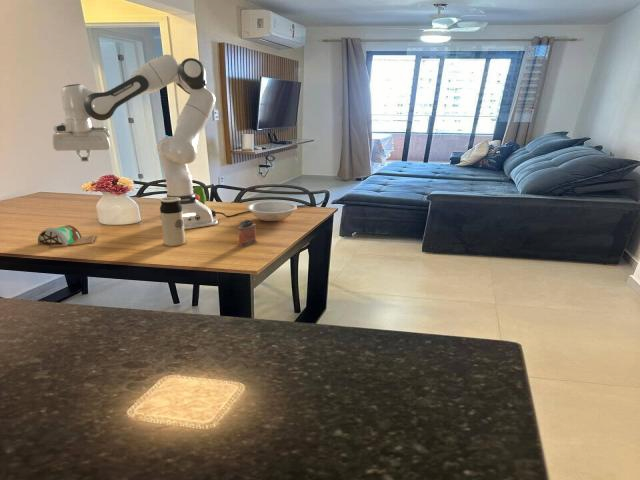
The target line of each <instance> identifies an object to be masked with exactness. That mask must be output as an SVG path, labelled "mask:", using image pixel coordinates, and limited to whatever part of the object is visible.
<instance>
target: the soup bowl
mask: <svg viewBox="0 0 640 480" xmlns="http://www.w3.org/2000/svg"><path fill="white" fill-rule="evenodd" d="M297 206H298V205H296V204H294V203H291V202H288V201H281V200H280V201H279V200H265V201H258V202H253V203H251V204H248V205H247V207H246V209H247V211H251V212H250V213H251V214H252V215H253V216H254V217H255V218H256V219H258V220H261V221H264V222H278V221H283V220H286V219H288V218H289V217H290V216H291V215H292V213H293V212H294V211H295V210H297V208H298V207H297Z"/></svg>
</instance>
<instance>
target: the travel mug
mask: <svg viewBox="0 0 640 480" xmlns="http://www.w3.org/2000/svg"><path fill="white" fill-rule="evenodd" d="M180 200H181V199H180V198H179V197H167V196H166V197H165V196H164V197H162V198H159V202H160V204H161V205H160V207H159V213H160V220H161V228H162V229H161V230H162V239H163V245H166V246H168V247H177V246H181V245H183V244H185V243H186V234H185V229H184V222H183V212H182V206H181V204H180Z"/></svg>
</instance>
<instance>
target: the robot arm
mask: <svg viewBox="0 0 640 480" xmlns="http://www.w3.org/2000/svg"><path fill="white" fill-rule="evenodd" d="M206 72H207V71H206V68H205V67H204V64H203V63H202V62H201V61H200V60H199V59H197V58H193V57H189V58H185V59H184V60H182V61H181V63H180V62H179V61H178V59H176V57H174V56H173V55H171V54H163V55H160V56H157V57H155V58H153V59H150V60H149V61H147V62H145V63H143V64H142V65H141V66H139V67H138V68H136V70H134V72H133V73H132V74H131V75H130V76H129V78H128V79H127V80H125V81H124V82H122V83H120V84H118V85H116V86H115V87H113V88H111V89H108V90H107V91H103V92H102V91H101V92H96V91H94V90H92V89H90V88H88V87H86V86H84V85H83V84H81V83H75V84H67V85H64V86H63V87H62V89H61V91H60V95H61V104H62V108H63V111H64V114H65V115H64V119H65V122H63V123H60V124H58V125H54V126H53V131H54V133H53V134H52V146H53V149H54V150H55V151H57V152H60V151H61V152H62V151H63V152H64V151H66V152H67V151H75V152H76V155H77V156H78V157H79V158H80V162H90V161H91V159H90V156H91V154H92V151H109V150H110V149H111V142H110V138H109V137H110V130H109V129H108V128H106V127H104V126H93V125H92V120H91V118H92V119H94V120H97V121H107V120H109V119H111V117H112V116H113V115H114V114H115V112H116V110H117V109H118V108H119V107H120V106H122V105H123V104H125V103H127V102H129V101H130V100H132V99H134V98H136V97H138V96H141V95H149V94H152V93H155V92H158V91H160V90H162V89H163V88H165V87H167V86H168V85H170V84H173V83H175V84H176V86H178V87H179V88H180V89H181V90H183V91H184V92H185V93H186V94H188V95H189V97H188V99H187V101H186V103H185V104H184V106H183V108H182V109H181V110H182V111H181V112H180V114H179V116H178V117H177V119H176V127H175V131H174V133H173V135H172V136H170V135H169V136H165V137H162V138H161V139H159V140H158V142H157V143H156V152H157V155H159V160H160V162H161V166H162V169H163V173H164V177H165V184H166V192H167V194H166V197H179V198H180V199H181V200H180V204H181V206H182V212H183V222H184V230H189V229H197V228H203V227H210V226H216V225H218V224H219V222H218V218H217V217H216V216H217V215H216V214H219V215H223V216H224V217H225V218H232V217H236V216H239V215H242V214H247V213H252V212H251V211H249V210H245V211H241V212H237V213H234V214H231V215H228V214H225V213H224V212H220V211H215V210H213V209H210V207H209V206H207V205H206V204H205V205H204V204H202V203H201V202H199V201H198V200H200V196H199V195H197V194H196V193H193V189H194V185H193V176H192V174H191V172H190V169H189V167H188V165H189V164H192V163H193V162H194V161H195V160H196V159H197V156H198V149H197V148H198V144H199V142H200V138H201V135H202V132H203V130H204V129H205V127H206V125H207V124H208V122H209V119H210V117H211V115H212V114H213V111H214V108H215V104H216V101H217V100H216V99H217V98H216V96H215V94H214V93H213V92H212V91H211V90H210V89H209V88H207V87H206V85H207V73H206ZM82 151H86V154H87V155H86V156H83V155H82V154H81V153H82ZM323 202H324V203H327V201H326V200H324V199H323V200H321V201H320V202H318V203H314V204H313V203H312V204H300V205H296V206H297V208H301V207H312V206H313V207H314V206H319V205H321V204H323Z"/></svg>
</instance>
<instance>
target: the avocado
mask: <svg viewBox="0 0 640 480" xmlns="http://www.w3.org/2000/svg"><path fill="white" fill-rule="evenodd" d="M193 193H196V194H197V195H199V196H200V200H198V201H199V202H201V203H202V204H204V205H206V201H207V196H206V193H205V190H204V188H203V187H202V186H201V185H195V186H193Z"/></svg>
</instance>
